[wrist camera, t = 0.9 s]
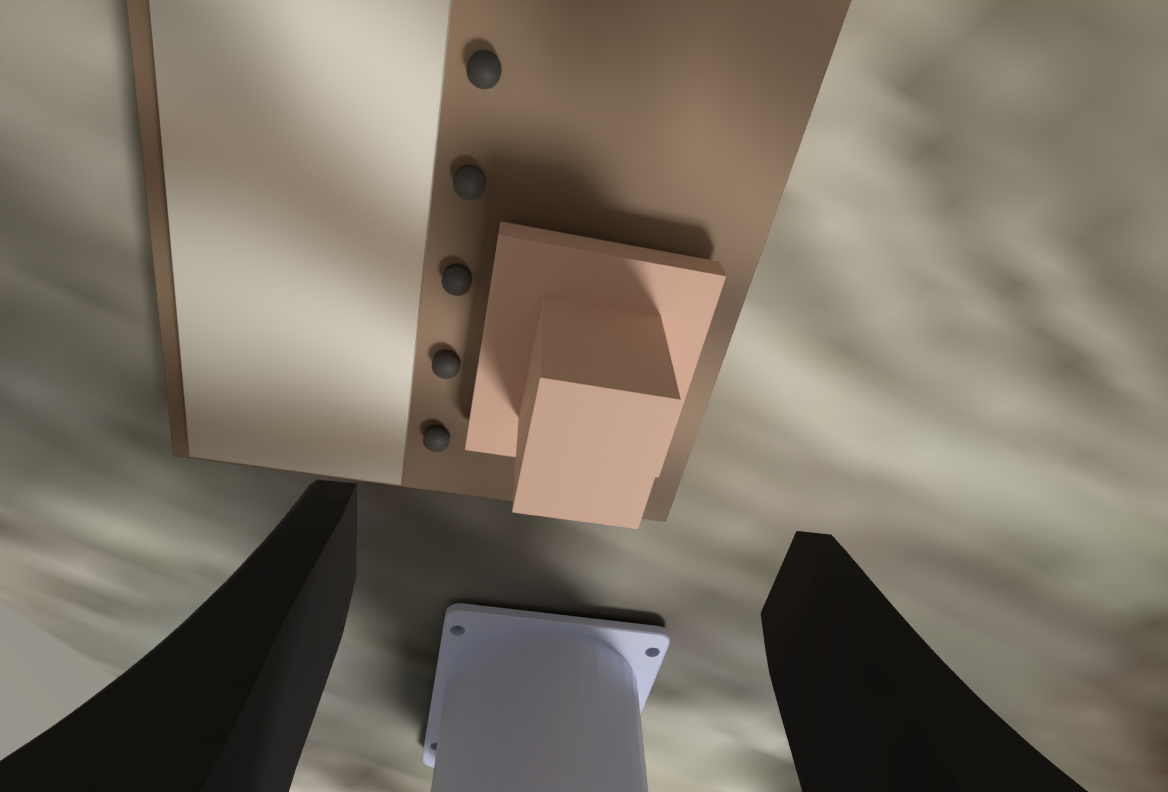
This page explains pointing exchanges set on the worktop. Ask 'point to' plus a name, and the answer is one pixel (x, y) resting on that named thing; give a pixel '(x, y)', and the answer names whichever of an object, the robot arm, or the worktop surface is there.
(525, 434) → the peach plate with block
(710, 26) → the board
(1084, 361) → the worktop surface
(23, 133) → the worktop surface
